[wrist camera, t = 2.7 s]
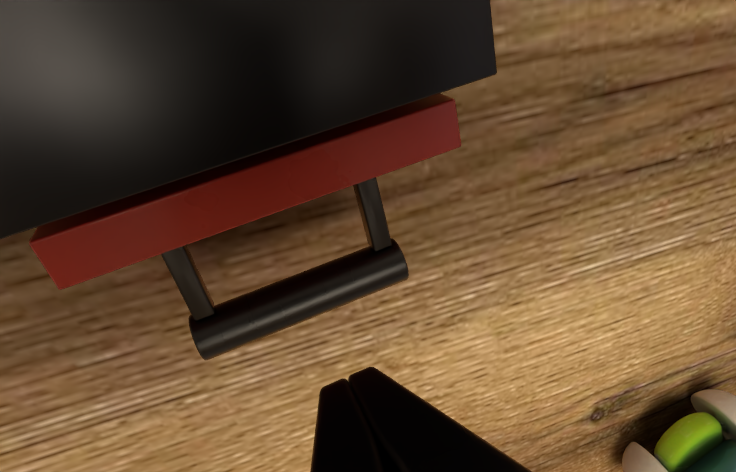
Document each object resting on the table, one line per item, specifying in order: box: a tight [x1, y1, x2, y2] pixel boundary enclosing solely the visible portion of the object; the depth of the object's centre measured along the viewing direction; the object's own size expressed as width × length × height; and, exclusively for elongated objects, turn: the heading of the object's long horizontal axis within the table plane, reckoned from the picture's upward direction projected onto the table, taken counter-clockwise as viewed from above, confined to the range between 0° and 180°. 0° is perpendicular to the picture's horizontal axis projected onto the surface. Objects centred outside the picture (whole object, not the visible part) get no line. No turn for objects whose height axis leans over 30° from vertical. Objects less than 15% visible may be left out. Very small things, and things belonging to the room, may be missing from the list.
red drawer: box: [29, 93, 461, 360], centre depth 12 cm, size 17×9×6 cm, turn 14°
